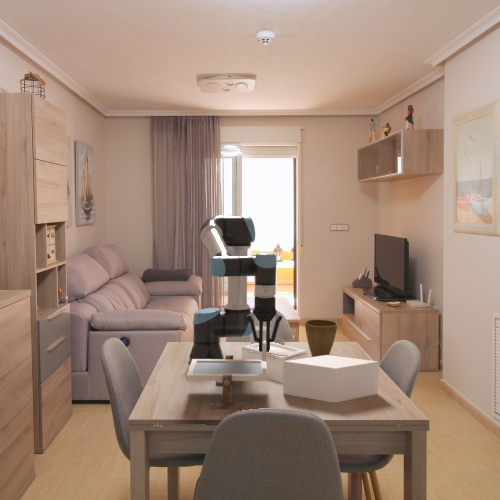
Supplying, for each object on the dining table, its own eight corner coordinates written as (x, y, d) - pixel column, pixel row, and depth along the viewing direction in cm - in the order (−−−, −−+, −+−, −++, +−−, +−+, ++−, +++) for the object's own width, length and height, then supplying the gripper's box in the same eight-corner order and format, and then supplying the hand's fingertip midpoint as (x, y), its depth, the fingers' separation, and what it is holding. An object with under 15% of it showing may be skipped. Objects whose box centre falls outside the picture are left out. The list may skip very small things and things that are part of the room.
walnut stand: (212, 408, 177) (212, 376, 176) (216, 382, 204) (216, 354, 204) (241, 408, 177) (241, 377, 177) (241, 382, 204) (242, 355, 204)
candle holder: (263, 357, 241) (264, 331, 240) (245, 353, 246) (245, 328, 246) (274, 352, 250) (274, 327, 249) (256, 349, 255) (256, 324, 254)
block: (280, 386, 201) (281, 354, 200) (371, 386, 202) (372, 355, 202) (285, 402, 184) (285, 368, 183) (384, 403, 185) (385, 368, 184)
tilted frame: (186, 381, 179) (186, 375, 179) (192, 363, 201) (192, 358, 201) (268, 382, 180) (268, 376, 180) (265, 364, 201) (265, 359, 201)
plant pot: (300, 359, 239) (300, 324, 237) (309, 351, 252) (310, 318, 251) (332, 362, 233) (333, 327, 232) (339, 354, 247) (340, 321, 246)
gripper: (247, 297, 185) (246, 363, 187) (284, 298, 185) (282, 363, 187) (246, 294, 192) (246, 357, 194) (282, 294, 192) (281, 357, 194)
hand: (264, 360), depth 190 cm, fingers closed
